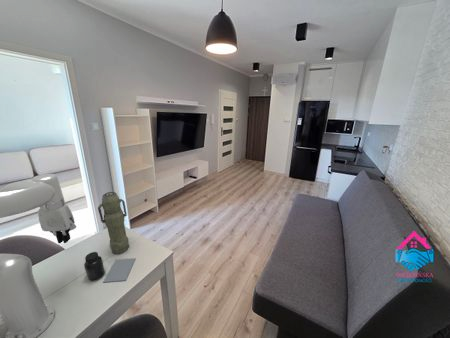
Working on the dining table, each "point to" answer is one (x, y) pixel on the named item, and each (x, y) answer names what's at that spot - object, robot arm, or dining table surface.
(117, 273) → the mat
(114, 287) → the dining table surface
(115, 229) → the thermos
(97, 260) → the supplement bottle
